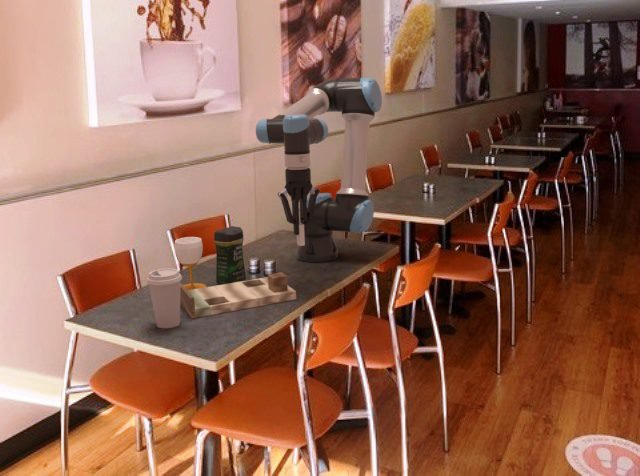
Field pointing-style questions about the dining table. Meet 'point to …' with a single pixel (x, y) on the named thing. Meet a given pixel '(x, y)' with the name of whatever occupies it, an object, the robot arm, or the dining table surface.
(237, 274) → the coffee jar
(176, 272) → the coffee cup
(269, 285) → the walnut block
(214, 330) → the dining table surface
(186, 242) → the cup
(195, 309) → the trap board
